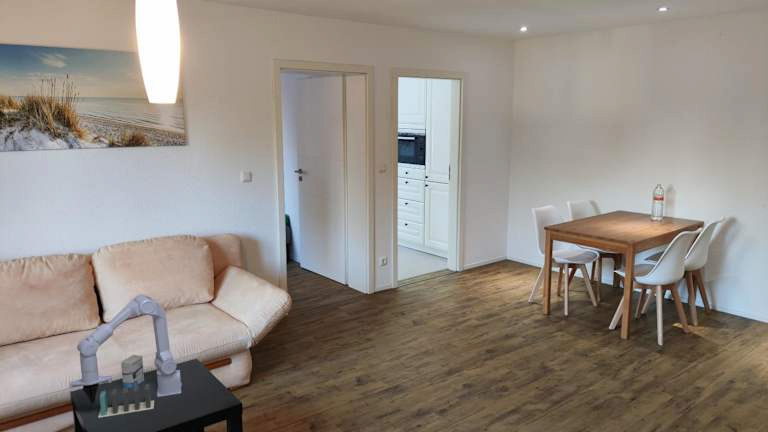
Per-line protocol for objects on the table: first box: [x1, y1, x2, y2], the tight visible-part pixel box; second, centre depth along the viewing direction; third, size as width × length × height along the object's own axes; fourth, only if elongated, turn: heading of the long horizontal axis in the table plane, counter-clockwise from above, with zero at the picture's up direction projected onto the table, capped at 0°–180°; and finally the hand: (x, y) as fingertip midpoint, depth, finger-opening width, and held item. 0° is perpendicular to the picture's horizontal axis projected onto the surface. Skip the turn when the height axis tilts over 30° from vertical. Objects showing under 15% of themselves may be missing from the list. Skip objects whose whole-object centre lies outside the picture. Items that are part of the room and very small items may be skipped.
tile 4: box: [133, 384, 141, 410], centre depth 225 cm, size 2×5×8 cm, turn 20°
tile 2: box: [110, 388, 120, 414], centre depth 222 cm, size 2×5×8 cm, turn 20°
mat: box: [97, 400, 155, 419], centre depth 224 cm, size 20×7×1 cm, turn 110°
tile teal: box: [99, 390, 109, 416], centre depth 221 cm, size 2×5×8 cm, turn 20°
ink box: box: [120, 354, 145, 390], centre depth 245 cm, size 8×5×12 cm, turn 168°
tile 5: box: [144, 383, 152, 408], centre depth 226 cm, size 2×5×8 cm, turn 20°
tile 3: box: [122, 387, 130, 412], centre depth 224 cm, size 2×5×8 cm, turn 20°
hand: (92, 401), depth 219 cm, fingers closed
